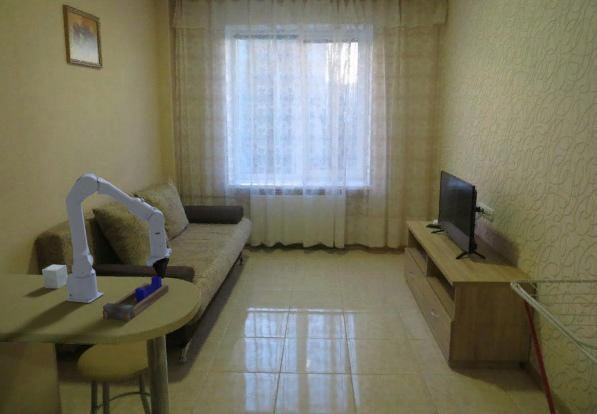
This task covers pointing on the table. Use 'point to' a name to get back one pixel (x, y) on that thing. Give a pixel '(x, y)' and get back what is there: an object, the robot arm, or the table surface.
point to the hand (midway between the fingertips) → (161, 277)
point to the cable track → (129, 311)
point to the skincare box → (55, 276)
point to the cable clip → (148, 289)
